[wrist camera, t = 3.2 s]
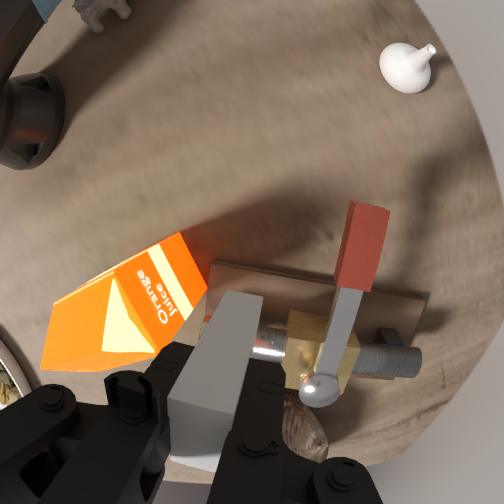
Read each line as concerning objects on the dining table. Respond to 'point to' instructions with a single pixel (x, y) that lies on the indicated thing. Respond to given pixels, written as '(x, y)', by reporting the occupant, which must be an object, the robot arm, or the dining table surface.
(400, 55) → the garlic bulb
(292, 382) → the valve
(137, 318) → the orange juice
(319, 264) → the dining table surface
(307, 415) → the seashell
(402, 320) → the mounting board
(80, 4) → the elephant statuette
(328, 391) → the valve lever
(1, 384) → the bowl
